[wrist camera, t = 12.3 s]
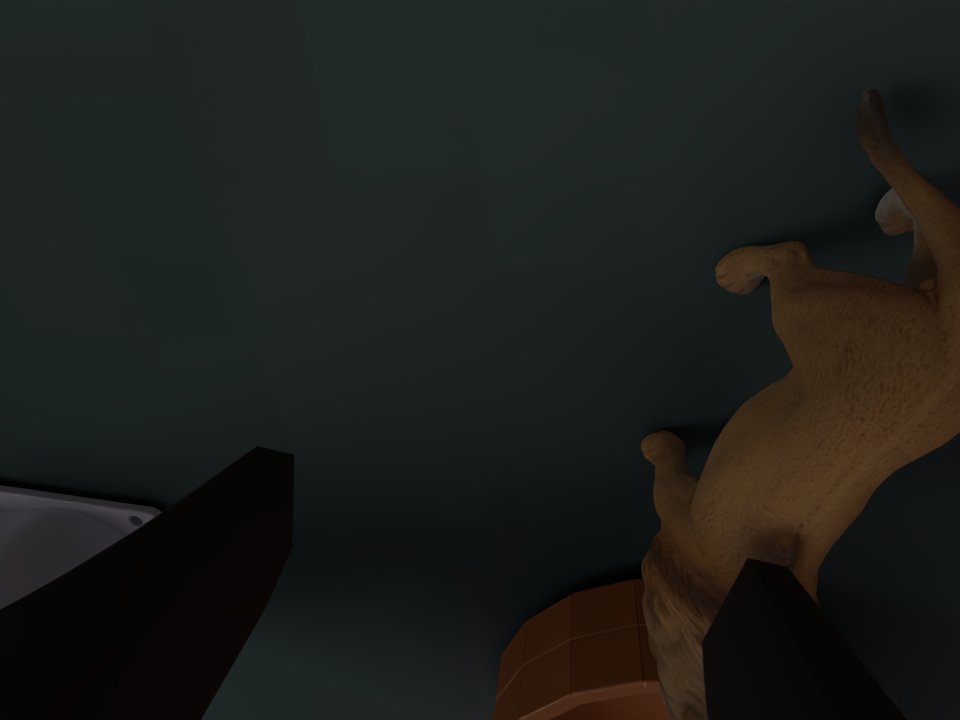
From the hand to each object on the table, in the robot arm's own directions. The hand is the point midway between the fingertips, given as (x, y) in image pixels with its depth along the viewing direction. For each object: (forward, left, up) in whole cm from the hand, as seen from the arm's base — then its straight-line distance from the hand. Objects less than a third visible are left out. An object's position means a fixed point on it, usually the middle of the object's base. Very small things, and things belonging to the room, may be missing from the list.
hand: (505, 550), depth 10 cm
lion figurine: (+7, -1, -10) cm, 12 cm away
